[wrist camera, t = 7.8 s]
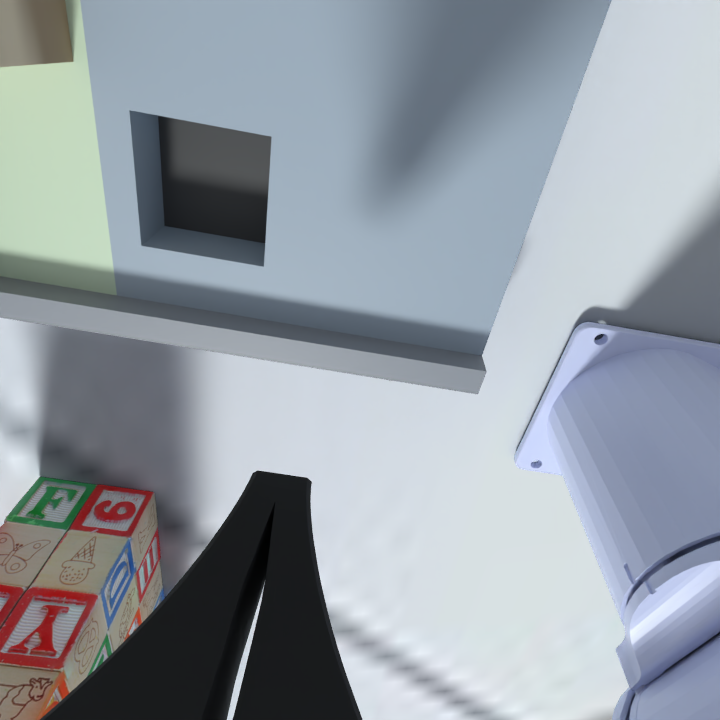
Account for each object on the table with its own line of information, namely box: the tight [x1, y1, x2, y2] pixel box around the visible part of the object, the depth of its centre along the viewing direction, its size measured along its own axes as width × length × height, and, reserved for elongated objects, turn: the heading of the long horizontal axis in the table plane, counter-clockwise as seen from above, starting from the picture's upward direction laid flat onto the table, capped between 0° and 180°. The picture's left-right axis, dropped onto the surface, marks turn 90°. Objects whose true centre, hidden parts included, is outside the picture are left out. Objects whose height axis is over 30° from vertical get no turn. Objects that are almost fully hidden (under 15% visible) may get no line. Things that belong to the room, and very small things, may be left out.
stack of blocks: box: [0, 477, 164, 720], centre depth 27 cm, size 21×6×12 cm, turn 171°
